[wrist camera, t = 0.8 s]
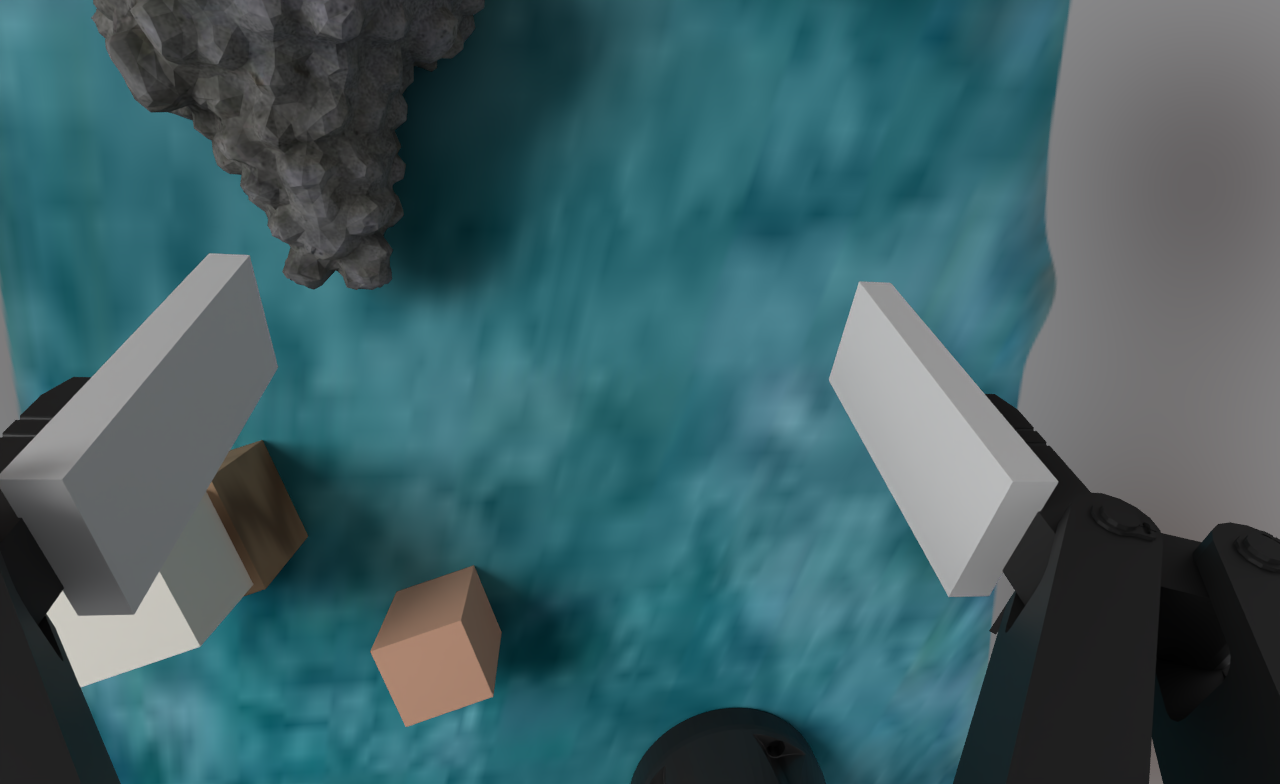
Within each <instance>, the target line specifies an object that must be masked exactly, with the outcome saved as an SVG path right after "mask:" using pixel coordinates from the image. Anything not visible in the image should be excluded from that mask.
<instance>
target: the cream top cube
mask: <svg viewBox="0 0 1280 784" xmlns="http://www.w3.org/2000/svg"><path fill="white" fill-rule="evenodd" d="M252 586H253V583H252V581H251V579H250V577H249V575H248V573H247V571H246V569H245V567H244V565H243V563H242V561H241V559H240V557H239V555H238V553H237V551H236V549H235V547H234V545H233V543H232V541H231V539H230V537H229V535H228V533H227V531H226V529H225V527H224V525H223V523H222V522H221V520H220V518H219V516H218V514H217V512H216V510H215V508H214V506H213V504H212V502H211V500H210V498H209V496H208V494H207V492H205V494H204V495H203V497H202V499H201V501H200V502H199V504H198V506H197V508H196V509H195V511H194V513H193V514H192V516H191V518H190V520H189V521H188V523H187V525H186V526H185V528H184V530H183V532H182V533H181V535H180V537H179V539H178V540H177V542H176V544H175V545H174V547H173V549H172V551H171V552H170V554H169V556H168V557H167V559H166V561H165V563H164V564H163V566H162V568H161V569H160V571H159V573H158V575H157V576H156V578H155V580H154V582H153V583H152V585H151V587H150V588H149V590H148V592H147V594H146V595H145V597H144V599H143V600H142V602H141V604H140V606H139V607H138V609H137V611H136V613H135V614H134V615H97V616H78V615H77V613H76V612H75V610H74V608H73V607H72V605H71V604H70V602H69V600H68V599H67V597H66V595H65V594H64V592H63V591H62V592H61V594H60V595H59V596H58V598H57V599H56V601H55V602H54V603H53V605H52V606H51V608H50V609H49V611H48V612H47V613H46V614H47V615H48V617H49V618H50V620H51V622H52V623H53V625H54V626H55V628H56V630H57V633H58V635H59V638H60V640H61V642H62V645H63V647H64V650H65V652H66V654H67V657H68V659H69V662H70V664H71V666H72V669H73V671H74V673H75V676H76V678H77V681H78V683H79V685H80V687H83V686H86V685H89V684H92V683H95V682H98V681H101V680H103V679H106V678H109V677H112V676H115V675H118V674H121V673H124V672H127V671H130V670H133V669H136V668H139V667H142V666H145V665H148V664H150V663H153V662H156V661H159V660H162V659H165V658H168V657H171V656H174V655H177V654H180V653H183V652H186V651H189V650H192V649H195V648H197V647H200V646H201V645H202V644H203V643H204V642H205V640H206V639H207V638H208V637H209V636H210V635H211V633H212V632H213V631H214V630H215V629H216V628H217V626H218V625H219V624H220V623H221V622H222V621H223V619H224V618H225V617H226V616H227V615H228V614H229V612H230V611H231V610H232V609H233V608H234V607H235V605H236V604H237V603H238V602H239V601H240V600H241V598H242V597H243V596H244V595H245V594H246V593H247V591H248V590H249V589H250V588H251V587H252Z"/></svg>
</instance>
